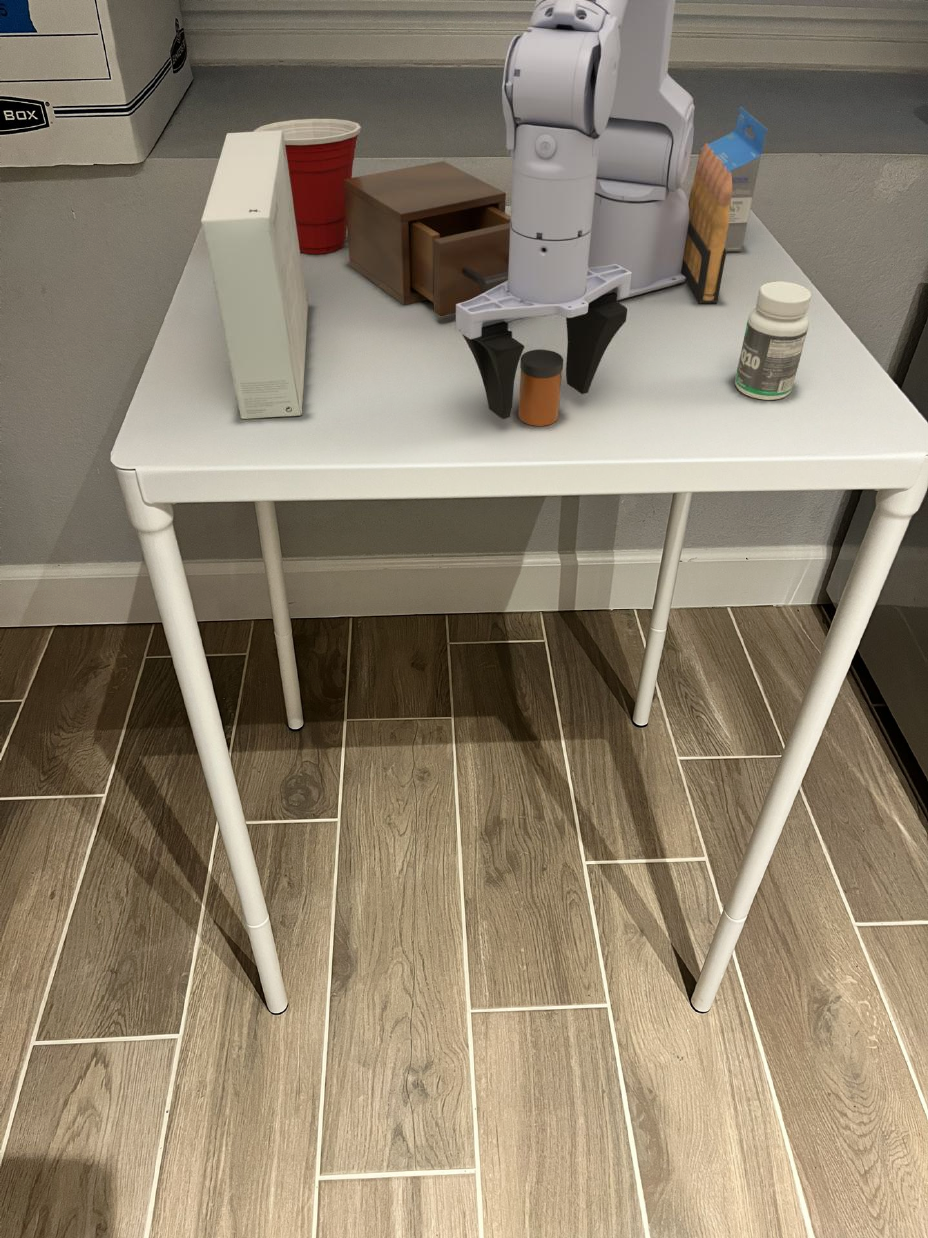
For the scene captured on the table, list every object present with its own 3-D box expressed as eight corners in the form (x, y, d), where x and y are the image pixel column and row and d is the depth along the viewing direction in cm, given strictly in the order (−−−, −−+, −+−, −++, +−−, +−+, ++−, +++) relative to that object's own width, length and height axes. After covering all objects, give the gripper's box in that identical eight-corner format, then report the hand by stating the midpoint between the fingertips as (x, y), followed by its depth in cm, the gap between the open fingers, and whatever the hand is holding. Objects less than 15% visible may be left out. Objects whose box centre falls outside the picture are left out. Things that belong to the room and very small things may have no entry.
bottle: (542, 402, 79) (546, 345, 76) (566, 419, 77) (572, 361, 74) (509, 412, 78) (512, 355, 75) (533, 430, 76) (536, 372, 73)
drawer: (558, 309, 91) (564, 236, 86) (465, 334, 87) (465, 259, 82) (474, 258, 100) (475, 189, 96) (386, 278, 96) (382, 208, 91)
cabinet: (503, 280, 98) (506, 192, 92) (403, 305, 93) (400, 213, 88) (444, 244, 105) (443, 160, 100) (349, 265, 101) (343, 178, 95)
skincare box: (251, 309, 92) (225, 129, 82) (308, 307, 93) (290, 128, 82) (232, 421, 77) (198, 216, 66) (302, 418, 77) (278, 214, 66)
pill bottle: (729, 373, 83) (749, 278, 78) (784, 375, 83) (808, 279, 78) (739, 401, 80) (761, 302, 74) (797, 402, 80) (823, 303, 74)
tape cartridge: (686, 224, 110) (704, 105, 102) (719, 223, 111) (740, 105, 103) (709, 253, 104) (731, 129, 96) (744, 252, 104) (769, 128, 96)
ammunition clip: (717, 303, 94) (742, 174, 86) (698, 304, 94) (721, 174, 86) (693, 261, 102) (713, 139, 94) (676, 261, 102) (695, 139, 94)
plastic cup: (349, 220, 110) (341, 105, 103) (381, 253, 103) (375, 132, 95) (256, 234, 107) (240, 116, 99) (283, 268, 100) (268, 144, 92)
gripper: (496, 265, 62) (490, 447, 71) (667, 224, 68) (642, 398, 77) (439, 231, 67) (441, 407, 76) (605, 196, 72) (588, 363, 81)
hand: (539, 400), depth 77 cm, fingers open, 7 cm apart
